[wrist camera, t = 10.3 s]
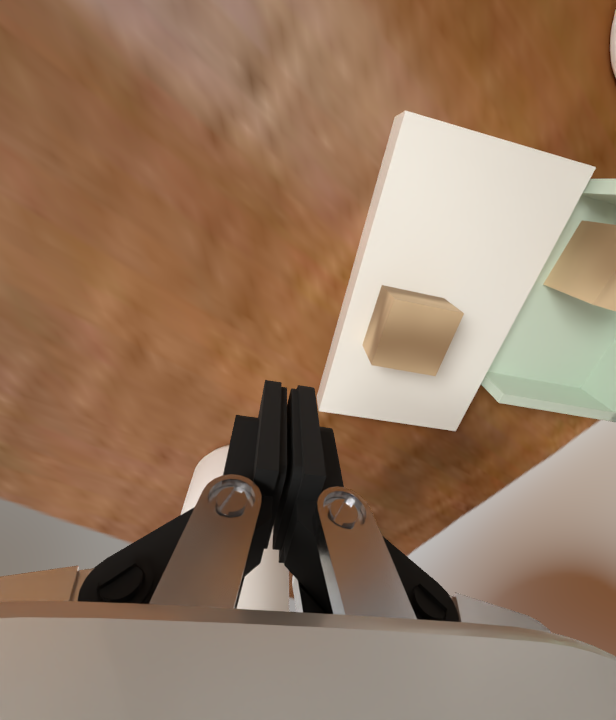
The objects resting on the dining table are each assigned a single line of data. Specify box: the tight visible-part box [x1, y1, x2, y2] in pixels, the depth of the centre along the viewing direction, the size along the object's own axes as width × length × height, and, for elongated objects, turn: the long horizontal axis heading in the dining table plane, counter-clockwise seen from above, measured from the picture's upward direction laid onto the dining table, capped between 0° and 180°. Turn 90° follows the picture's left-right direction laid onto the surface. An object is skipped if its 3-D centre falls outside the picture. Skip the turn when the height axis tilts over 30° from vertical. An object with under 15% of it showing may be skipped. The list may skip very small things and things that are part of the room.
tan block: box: [362, 285, 464, 376], centre depth 22 cm, size 4×4×3 cm
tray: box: [481, 179, 616, 422], centre depth 24 cm, size 15×10×4 cm
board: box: [317, 111, 596, 431], centre depth 24 cm, size 20×12×2 cm, turn 167°
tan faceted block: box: [543, 220, 616, 311], centre depth 22 cm, size 4×4×3 cm
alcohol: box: [181, 445, 289, 612], centre depth 19 cm, size 9×9×30 cm
